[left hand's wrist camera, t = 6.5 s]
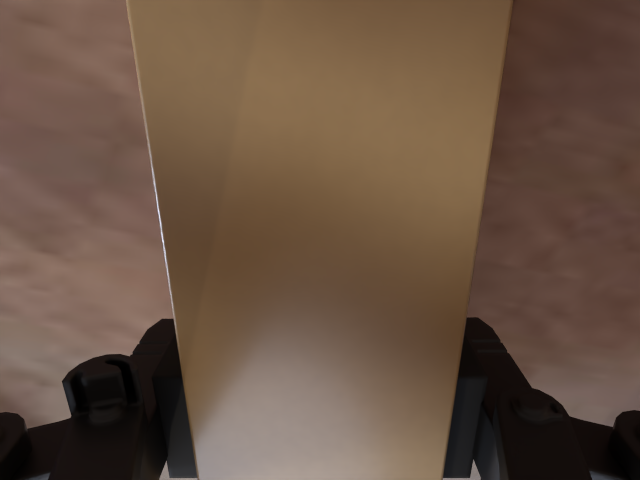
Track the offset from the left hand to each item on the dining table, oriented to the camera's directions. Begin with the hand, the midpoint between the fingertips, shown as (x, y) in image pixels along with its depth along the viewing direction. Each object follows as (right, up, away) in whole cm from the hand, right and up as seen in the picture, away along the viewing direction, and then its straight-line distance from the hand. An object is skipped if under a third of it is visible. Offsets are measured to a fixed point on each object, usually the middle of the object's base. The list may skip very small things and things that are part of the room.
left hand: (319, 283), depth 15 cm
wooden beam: (0, +27, -10) cm, 29 cm away
